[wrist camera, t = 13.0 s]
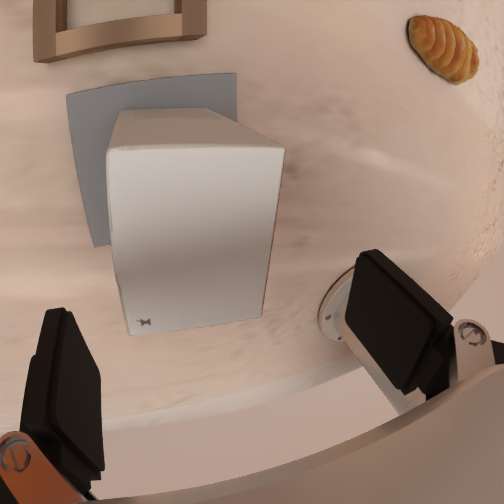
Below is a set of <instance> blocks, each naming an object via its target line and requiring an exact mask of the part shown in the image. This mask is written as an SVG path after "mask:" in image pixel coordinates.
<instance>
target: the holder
mask: <svg viewBox="0 0 504 504" xmlns="http://www.w3.org/2000/svg"><path fill="white" fill-rule="evenodd" d="M205 35H207V0H175V14H166V15H154V16H145V17H136V18H129V19H122V20H115V21H109V22H103V23H98V24H93V25H88V26H83V27H79V28H74V29H70V30H67V0H33V58H34V62H38V63H51V62H54V61H58V60H62V59H66V58H70V57H74V56H79V55H83V54H88V53H93V52H98V51H103V50H109V49H115V48H121V47H128V46H135V45H142V44H151V43H160V42H171V41H185V40H197V39H199V38H201V37H203V36H205Z"/></svg>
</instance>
